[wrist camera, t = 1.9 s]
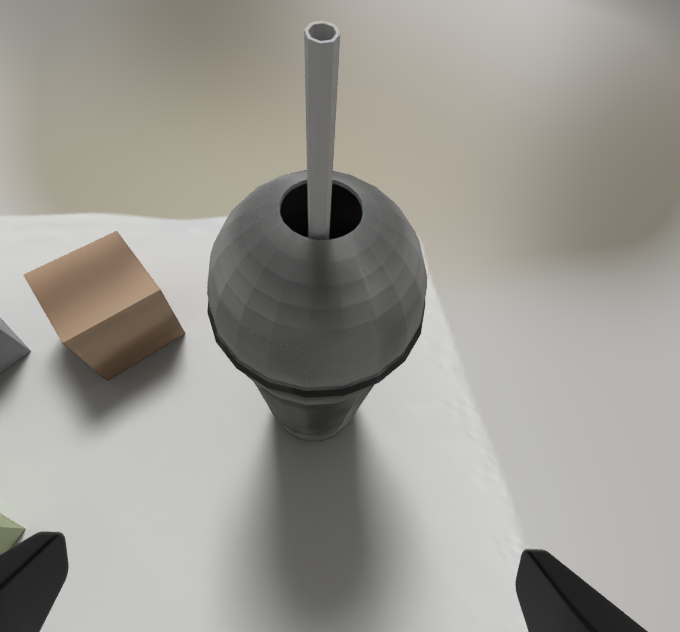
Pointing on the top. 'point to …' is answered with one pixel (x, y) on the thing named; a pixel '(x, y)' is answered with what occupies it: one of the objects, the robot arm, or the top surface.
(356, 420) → the top surface
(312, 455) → the top surface
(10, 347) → the charcoal block
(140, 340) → the walnut block
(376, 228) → the beverage cup
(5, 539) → the olive block
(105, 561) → the top surface
